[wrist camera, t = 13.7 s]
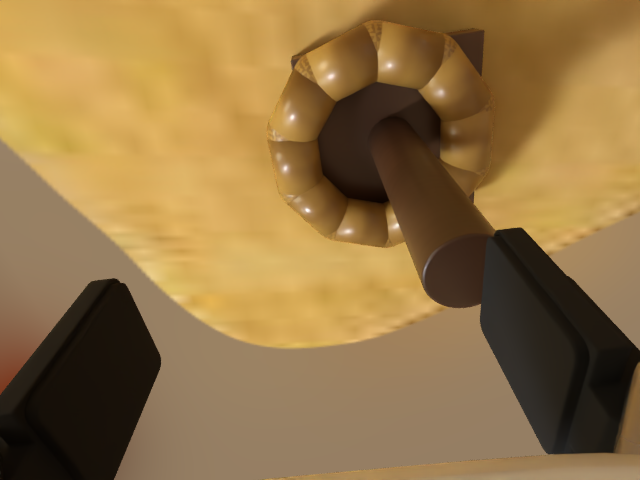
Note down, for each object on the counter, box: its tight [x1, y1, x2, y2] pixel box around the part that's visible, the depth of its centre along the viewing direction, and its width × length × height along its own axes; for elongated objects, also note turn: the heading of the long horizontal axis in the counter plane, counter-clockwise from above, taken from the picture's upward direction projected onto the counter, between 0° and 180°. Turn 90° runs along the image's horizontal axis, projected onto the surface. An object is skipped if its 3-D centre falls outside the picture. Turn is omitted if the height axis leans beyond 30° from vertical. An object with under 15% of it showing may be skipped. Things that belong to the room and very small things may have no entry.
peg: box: [291, 28, 495, 308], centre depth 16 cm, size 9×9×14 cm
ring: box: [267, 20, 495, 248], centre depth 20 cm, size 11×11×2 cm
